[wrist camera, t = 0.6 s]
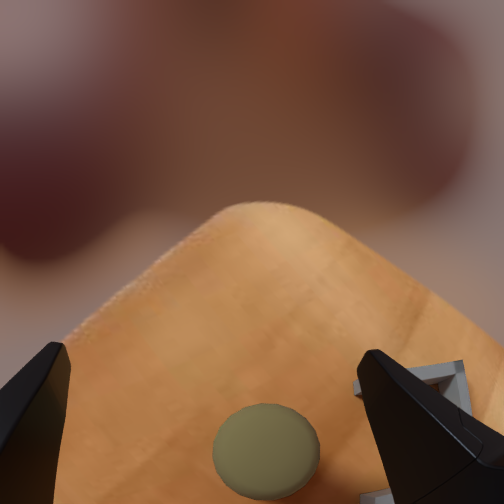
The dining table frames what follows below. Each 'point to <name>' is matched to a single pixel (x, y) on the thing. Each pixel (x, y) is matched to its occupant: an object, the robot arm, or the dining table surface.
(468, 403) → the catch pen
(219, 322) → the dining table surface
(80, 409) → the dining table surface
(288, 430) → the olive pawn
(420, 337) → the dining table surface
